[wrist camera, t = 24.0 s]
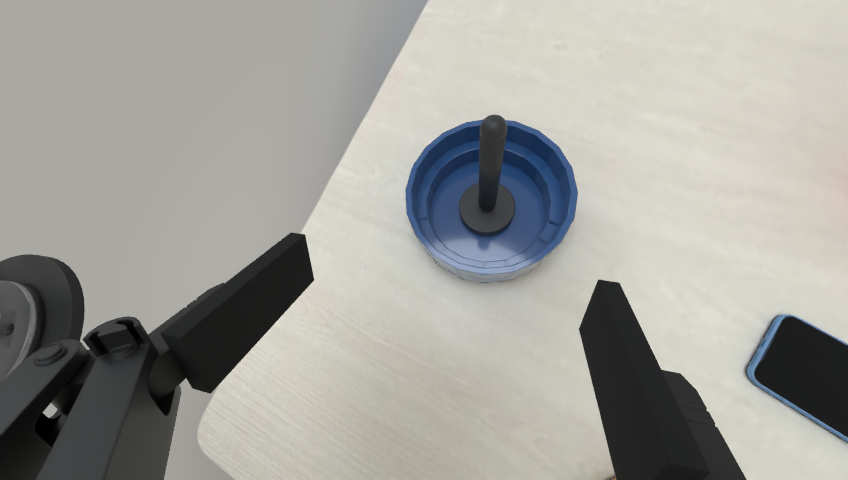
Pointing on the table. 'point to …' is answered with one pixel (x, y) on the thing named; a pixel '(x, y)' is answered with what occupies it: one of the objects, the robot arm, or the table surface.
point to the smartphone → (805, 371)
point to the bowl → (520, 173)
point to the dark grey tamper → (488, 184)
